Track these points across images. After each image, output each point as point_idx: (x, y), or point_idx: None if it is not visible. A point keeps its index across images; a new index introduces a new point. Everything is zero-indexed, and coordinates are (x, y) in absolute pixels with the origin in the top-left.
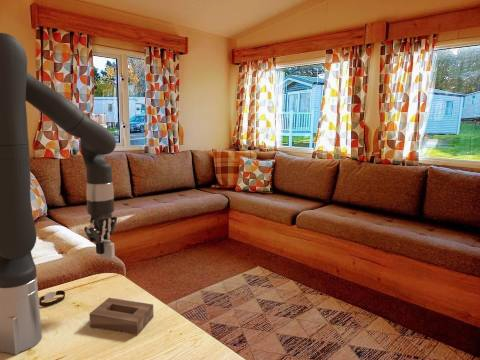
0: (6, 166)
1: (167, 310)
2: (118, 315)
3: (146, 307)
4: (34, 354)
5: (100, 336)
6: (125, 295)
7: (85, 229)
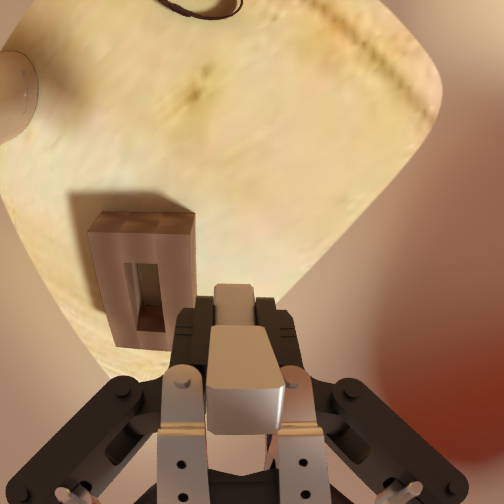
0: None
1: None
2: (115, 305)
3: None
4: None
5: (84, 257)
6: (293, 216)
7: (13, 493)
